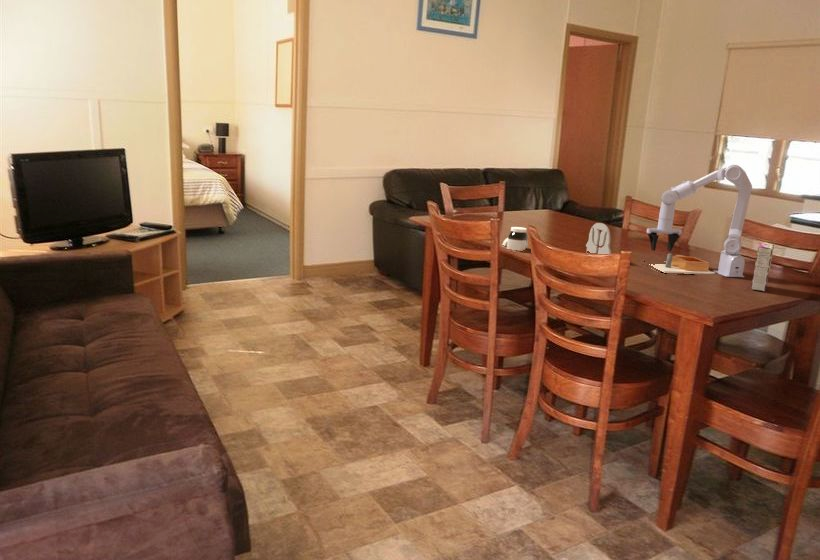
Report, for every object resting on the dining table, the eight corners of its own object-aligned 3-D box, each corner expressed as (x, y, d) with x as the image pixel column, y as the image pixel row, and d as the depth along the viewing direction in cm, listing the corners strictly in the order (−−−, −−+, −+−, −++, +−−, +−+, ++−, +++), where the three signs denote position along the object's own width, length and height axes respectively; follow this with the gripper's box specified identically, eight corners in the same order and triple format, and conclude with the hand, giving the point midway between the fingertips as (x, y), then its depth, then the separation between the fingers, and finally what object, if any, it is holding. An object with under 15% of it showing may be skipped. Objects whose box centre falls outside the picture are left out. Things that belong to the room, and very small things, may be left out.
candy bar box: (752, 284, 242) (760, 242, 238) (766, 286, 239) (774, 244, 235) (749, 289, 232) (758, 246, 229) (765, 291, 230) (773, 248, 226)
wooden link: (707, 271, 256) (709, 262, 255) (684, 270, 255) (686, 261, 254) (688, 263, 270) (689, 255, 269) (666, 262, 269) (667, 254, 268)
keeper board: (714, 275, 253) (717, 258, 252) (663, 274, 251) (666, 256, 249) (688, 265, 273) (690, 249, 271) (640, 263, 270) (642, 247, 269)
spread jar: (520, 257, 269) (523, 230, 267) (496, 253, 275) (498, 227, 272) (529, 253, 279) (532, 227, 277) (506, 249, 285) (508, 224, 282)
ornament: (611, 267, 259) (616, 227, 255) (582, 267, 256) (588, 227, 252) (583, 256, 280) (588, 219, 276) (557, 256, 276) (561, 218, 272)
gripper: (677, 218, 266) (672, 249, 270) (645, 216, 265) (640, 248, 268) (686, 220, 260) (680, 252, 263) (653, 219, 258) (648, 251, 261)
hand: (661, 250), depth 265 cm, fingers open, 7 cm apart
